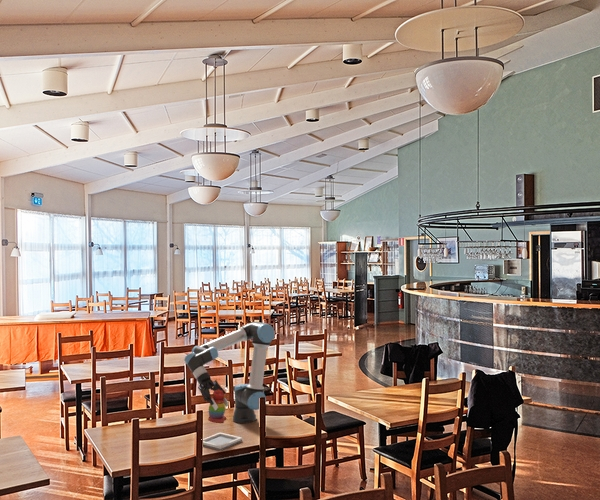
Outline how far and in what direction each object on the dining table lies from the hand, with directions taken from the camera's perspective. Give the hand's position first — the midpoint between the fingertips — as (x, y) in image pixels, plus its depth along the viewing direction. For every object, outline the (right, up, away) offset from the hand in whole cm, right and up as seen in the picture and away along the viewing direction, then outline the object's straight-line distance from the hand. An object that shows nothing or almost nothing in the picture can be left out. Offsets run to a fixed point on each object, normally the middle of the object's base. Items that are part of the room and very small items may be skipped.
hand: (222, 407), depth 336 cm
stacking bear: (-4, -9, +2) cm, 10 cm away
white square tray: (-2, -22, +3) cm, 22 cm away
